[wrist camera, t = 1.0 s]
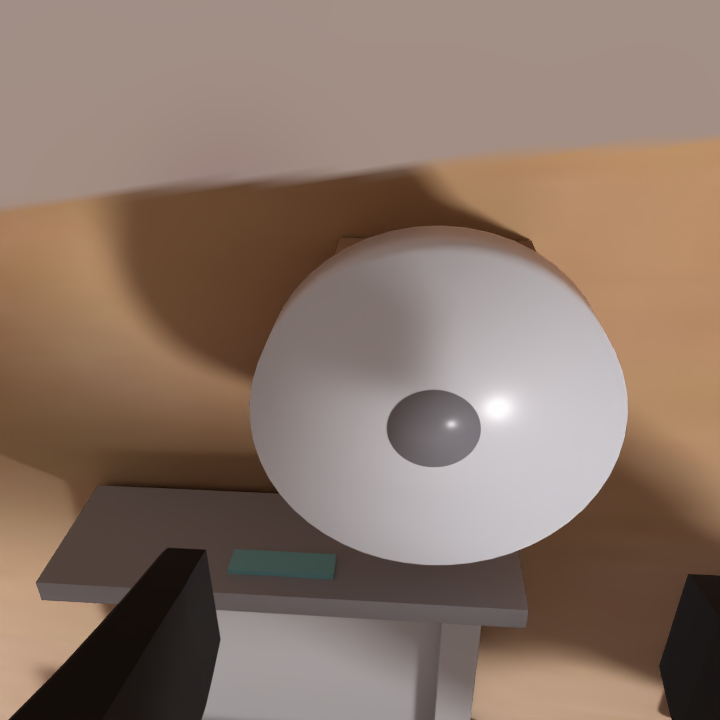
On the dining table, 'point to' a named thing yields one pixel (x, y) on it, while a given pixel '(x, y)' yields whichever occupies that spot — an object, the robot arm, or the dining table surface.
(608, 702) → the dining table surface
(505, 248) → the disc
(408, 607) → the grey shallow open box
